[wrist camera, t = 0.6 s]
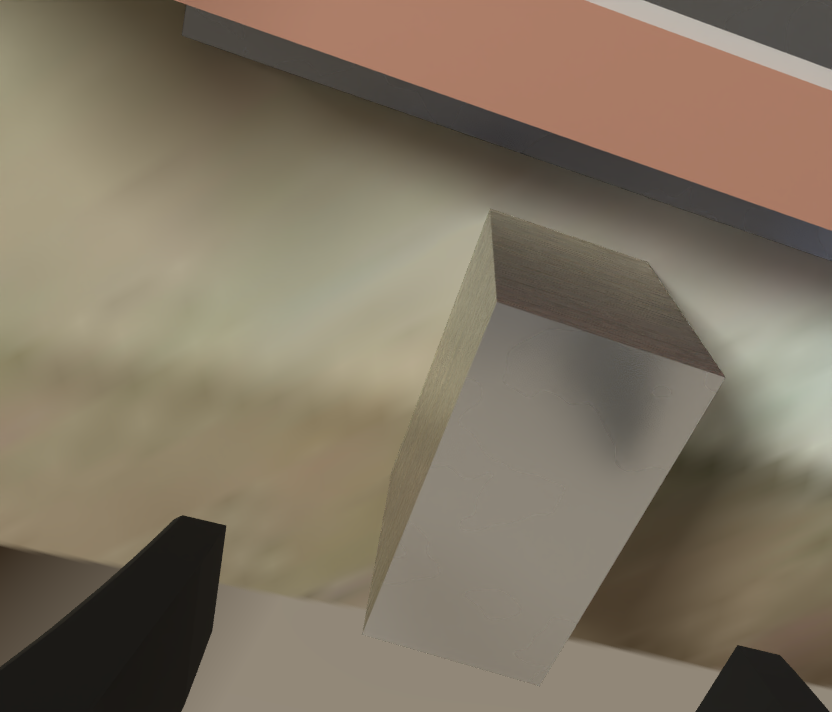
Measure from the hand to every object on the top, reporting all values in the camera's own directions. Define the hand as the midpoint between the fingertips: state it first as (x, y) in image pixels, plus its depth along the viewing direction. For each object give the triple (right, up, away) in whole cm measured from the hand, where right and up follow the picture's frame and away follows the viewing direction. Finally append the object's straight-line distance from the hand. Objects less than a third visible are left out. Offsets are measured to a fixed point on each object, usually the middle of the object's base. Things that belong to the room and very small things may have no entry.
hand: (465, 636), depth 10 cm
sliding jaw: (+3, +10, +4) cm, 11 cm away
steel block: (+2, +3, +9) cm, 10 cm away
